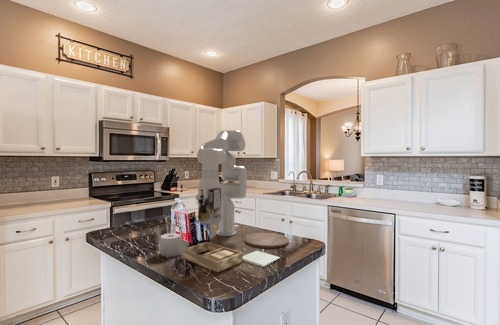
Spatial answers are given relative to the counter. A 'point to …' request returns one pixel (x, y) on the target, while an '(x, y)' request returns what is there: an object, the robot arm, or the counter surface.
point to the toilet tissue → (172, 245)
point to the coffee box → (211, 208)
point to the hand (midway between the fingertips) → (209, 211)
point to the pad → (260, 258)
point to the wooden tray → (205, 260)
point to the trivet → (266, 240)
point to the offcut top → (221, 255)
